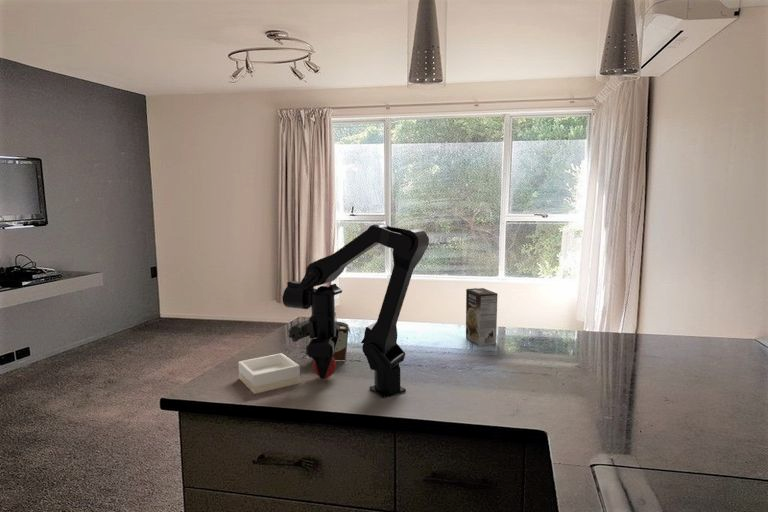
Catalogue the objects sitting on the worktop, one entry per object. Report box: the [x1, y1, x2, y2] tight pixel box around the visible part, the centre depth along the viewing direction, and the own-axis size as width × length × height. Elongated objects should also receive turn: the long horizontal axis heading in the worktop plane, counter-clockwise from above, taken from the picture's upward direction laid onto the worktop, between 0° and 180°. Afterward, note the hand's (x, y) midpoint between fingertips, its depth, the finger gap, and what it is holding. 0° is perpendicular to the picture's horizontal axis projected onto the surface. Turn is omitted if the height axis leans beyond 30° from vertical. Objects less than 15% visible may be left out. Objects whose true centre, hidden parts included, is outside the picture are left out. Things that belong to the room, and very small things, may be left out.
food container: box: [309, 320, 351, 361], centre depth 139 cm, size 12×6×10 cm, turn 84°
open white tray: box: [238, 352, 301, 395], centre depth 122 cm, size 12×12×4 cm
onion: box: [312, 356, 337, 380], centre depth 122 cm, size 6×6×8 cm
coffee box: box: [465, 287, 498, 347], centre depth 153 cm, size 9×6×16 cm
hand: (324, 371), depth 123 cm, fingers open, 9 cm apart
